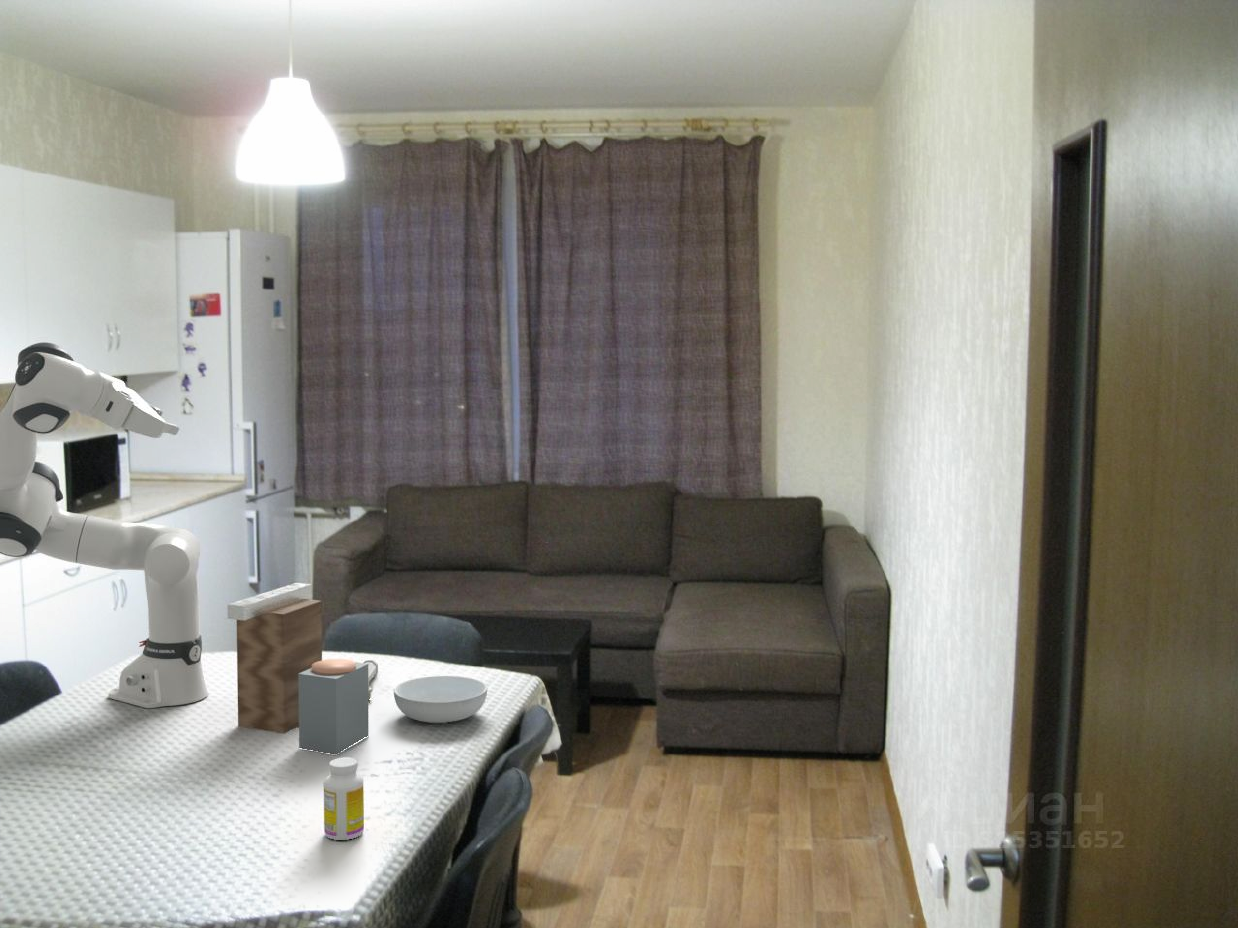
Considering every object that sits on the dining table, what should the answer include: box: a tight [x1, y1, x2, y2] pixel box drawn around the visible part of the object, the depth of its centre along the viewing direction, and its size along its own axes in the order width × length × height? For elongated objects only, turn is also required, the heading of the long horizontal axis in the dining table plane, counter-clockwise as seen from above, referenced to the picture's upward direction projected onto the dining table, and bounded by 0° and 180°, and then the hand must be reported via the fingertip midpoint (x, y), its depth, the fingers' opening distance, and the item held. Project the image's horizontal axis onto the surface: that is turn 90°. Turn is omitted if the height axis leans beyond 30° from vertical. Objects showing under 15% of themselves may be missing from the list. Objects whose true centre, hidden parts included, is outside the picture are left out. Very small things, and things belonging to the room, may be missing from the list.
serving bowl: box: [393, 675, 489, 724], centre depth 268 cm, size 21×21×7 cm
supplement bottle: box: [323, 757, 365, 841], centre depth 205 cm, size 7×7×13 cm
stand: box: [236, 598, 323, 734], centre depth 262 cm, size 12×14×26 cm
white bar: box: [226, 582, 313, 621], centre depth 258 cm, size 4×24×3 cm, turn 160°
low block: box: [298, 658, 369, 755], centre depth 249 cm, size 9×12×17 cm
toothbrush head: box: [363, 659, 379, 700], centre depth 288 cm, size 5×7×25 cm
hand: (168, 422), depth 244 cm, fingers open, 8 cm apart
